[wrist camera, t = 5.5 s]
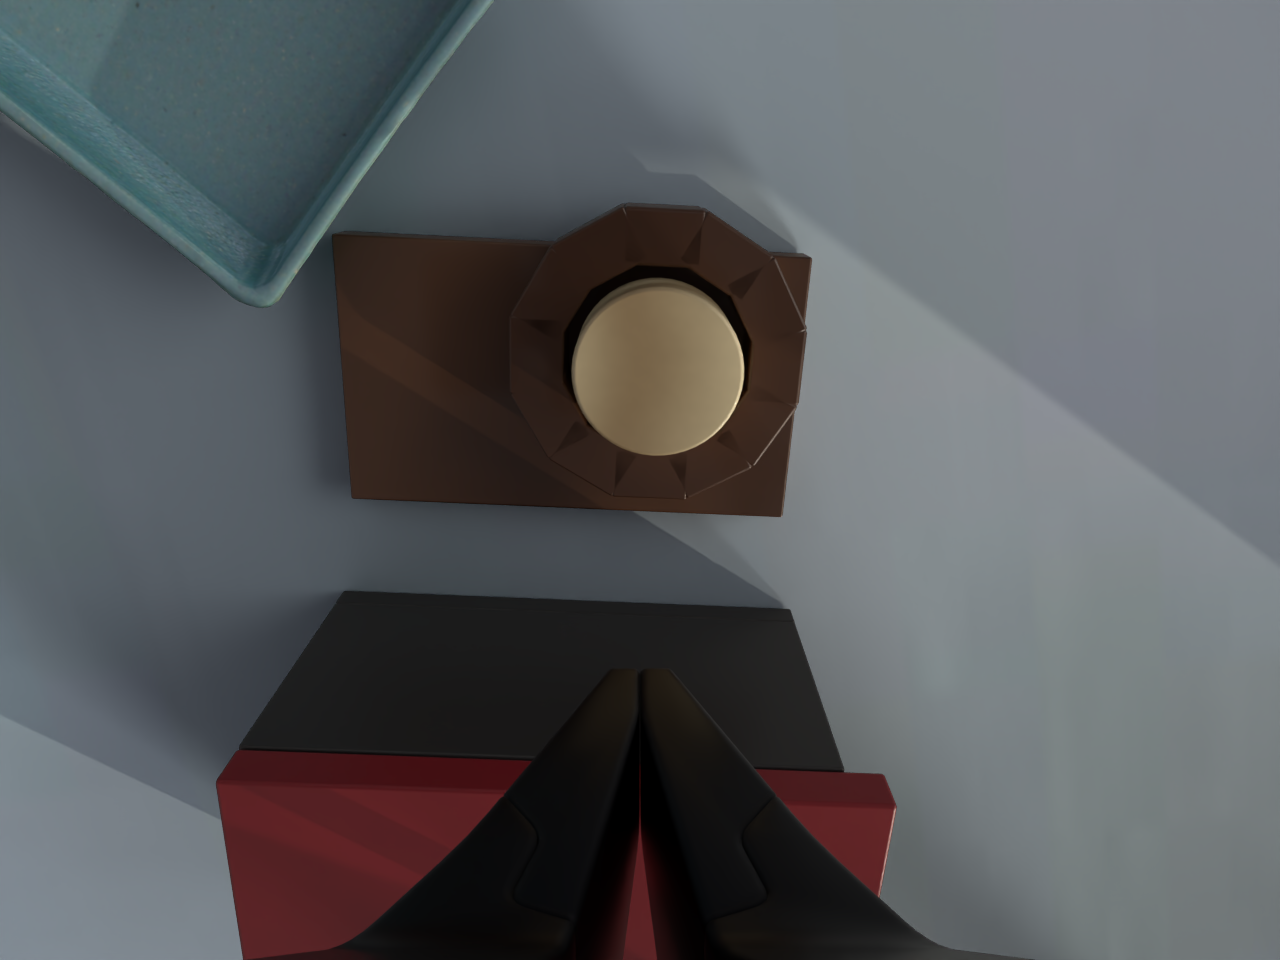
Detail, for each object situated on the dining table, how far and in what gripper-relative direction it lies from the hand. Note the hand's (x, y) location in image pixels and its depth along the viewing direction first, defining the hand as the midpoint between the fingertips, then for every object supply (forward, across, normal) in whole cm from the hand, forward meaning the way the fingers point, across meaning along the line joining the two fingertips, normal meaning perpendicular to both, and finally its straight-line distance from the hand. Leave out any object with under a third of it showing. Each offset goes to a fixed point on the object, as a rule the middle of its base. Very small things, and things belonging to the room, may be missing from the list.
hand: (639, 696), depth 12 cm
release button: (+9, 0, -3) cm, 9 cm away
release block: (+11, +2, -2) cm, 11 cm away
